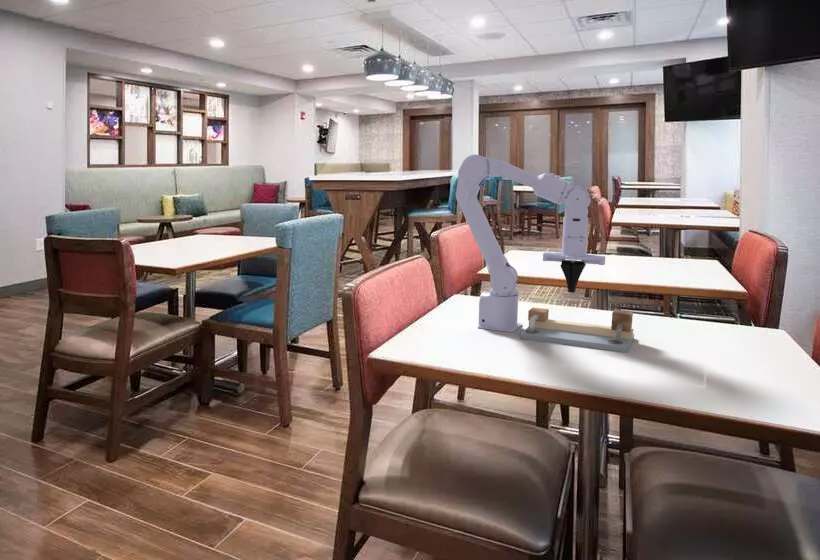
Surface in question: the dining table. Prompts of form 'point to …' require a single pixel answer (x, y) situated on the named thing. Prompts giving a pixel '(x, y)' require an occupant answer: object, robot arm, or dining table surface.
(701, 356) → the dining table surface
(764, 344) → the dining table surface
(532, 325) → the gauge board
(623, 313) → the slider
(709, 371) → the dining table surface
